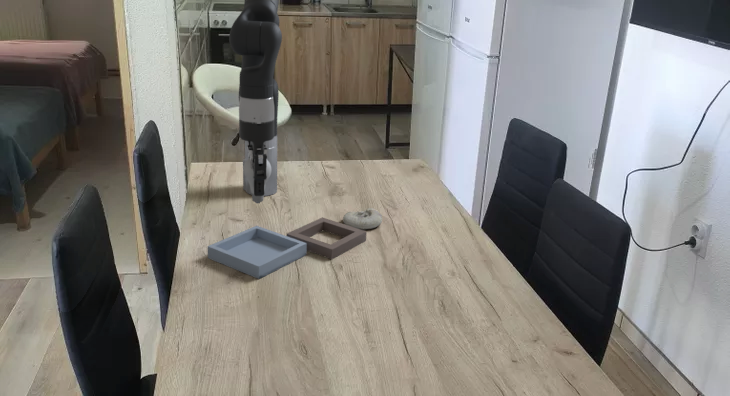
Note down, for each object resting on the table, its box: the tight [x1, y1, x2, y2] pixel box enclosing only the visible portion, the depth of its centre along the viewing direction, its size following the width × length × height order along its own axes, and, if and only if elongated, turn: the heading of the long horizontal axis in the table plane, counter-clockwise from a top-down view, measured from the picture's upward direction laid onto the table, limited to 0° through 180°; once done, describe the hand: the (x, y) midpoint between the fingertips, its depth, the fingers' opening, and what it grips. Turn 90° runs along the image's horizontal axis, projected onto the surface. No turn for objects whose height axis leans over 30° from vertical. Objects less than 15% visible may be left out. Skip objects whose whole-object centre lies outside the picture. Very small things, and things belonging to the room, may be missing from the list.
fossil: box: [342, 207, 383, 231], centre depth 173 cm, size 11×4×10 cm
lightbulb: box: [242, 158, 271, 204], centre depth 145 cm, size 6×6×11 cm
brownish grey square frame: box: [286, 217, 367, 260], centre depth 160 cm, size 14×14×2 cm
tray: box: [206, 225, 308, 280], centre depth 151 cm, size 16×16×3 cm
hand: (257, 190), depth 145 cm, fingers closed on lightbulb, 5 cm apart
